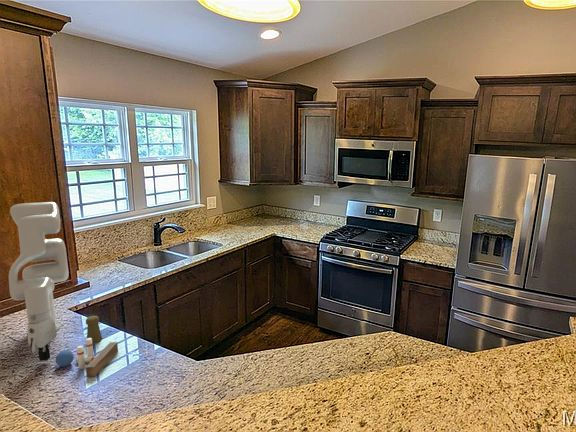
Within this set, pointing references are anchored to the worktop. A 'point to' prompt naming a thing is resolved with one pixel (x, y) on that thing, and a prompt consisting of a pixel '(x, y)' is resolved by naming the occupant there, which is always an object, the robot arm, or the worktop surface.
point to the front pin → (86, 359)
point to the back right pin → (81, 357)
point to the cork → (93, 329)
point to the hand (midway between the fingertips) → (44, 359)
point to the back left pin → (89, 347)
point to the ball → (64, 358)
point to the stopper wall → (101, 359)
